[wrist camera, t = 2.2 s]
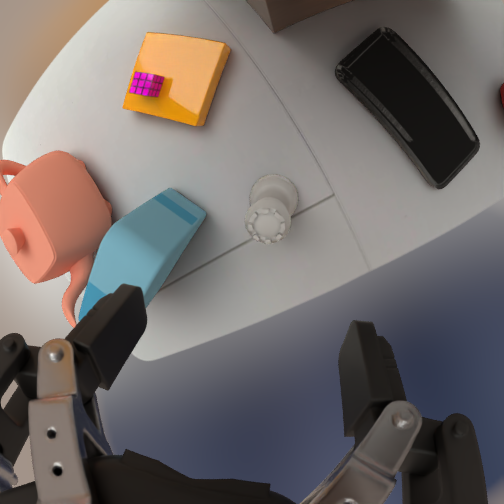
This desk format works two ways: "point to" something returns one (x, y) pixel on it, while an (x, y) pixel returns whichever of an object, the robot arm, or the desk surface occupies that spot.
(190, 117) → the orange square tile
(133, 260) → the data package
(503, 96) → the apple
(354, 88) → the phone
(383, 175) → the desk surface
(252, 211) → the rook chess piece
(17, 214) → the teapot
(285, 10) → the wooden panel
